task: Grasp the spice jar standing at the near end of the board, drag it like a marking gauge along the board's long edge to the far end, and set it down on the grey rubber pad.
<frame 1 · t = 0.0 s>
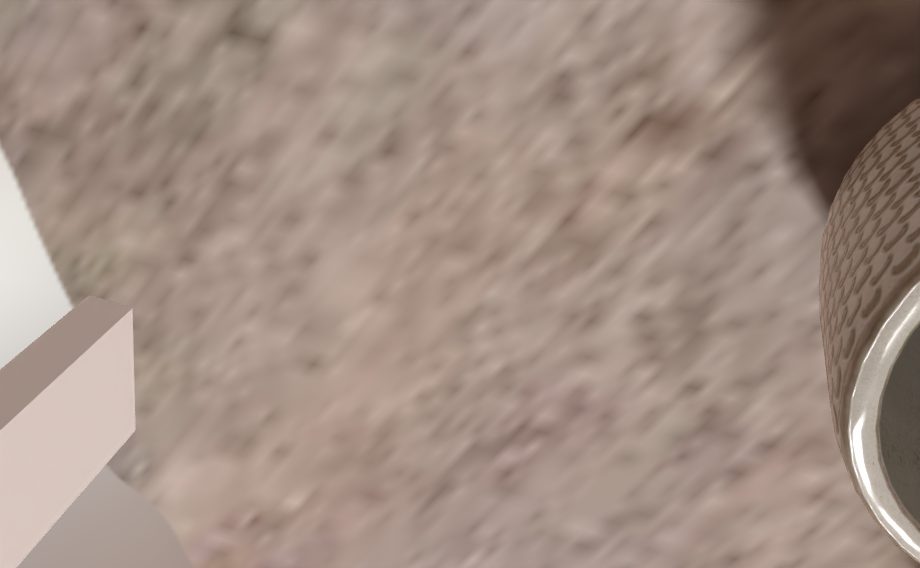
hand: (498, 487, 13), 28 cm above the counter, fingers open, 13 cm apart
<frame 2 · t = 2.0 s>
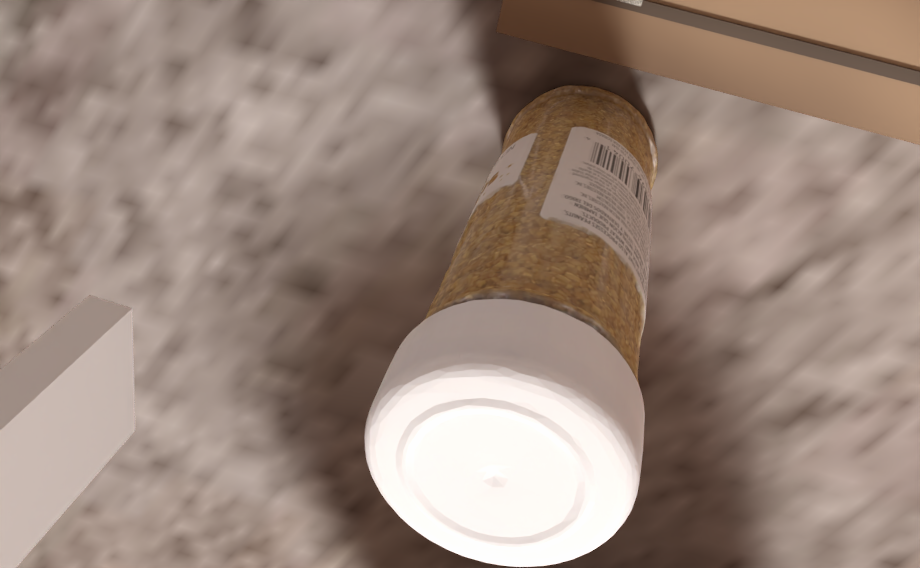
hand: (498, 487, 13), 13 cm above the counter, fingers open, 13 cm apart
spice jar: (582, 154, 24), on the counter
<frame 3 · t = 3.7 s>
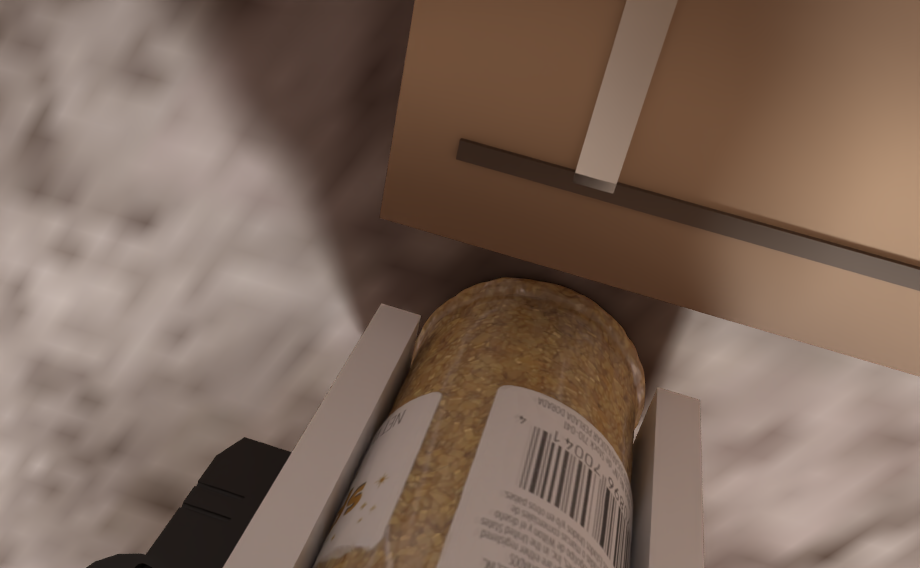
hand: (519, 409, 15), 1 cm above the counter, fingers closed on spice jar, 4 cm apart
spice jar: (532, 365, 16), on the counter, touching gripper
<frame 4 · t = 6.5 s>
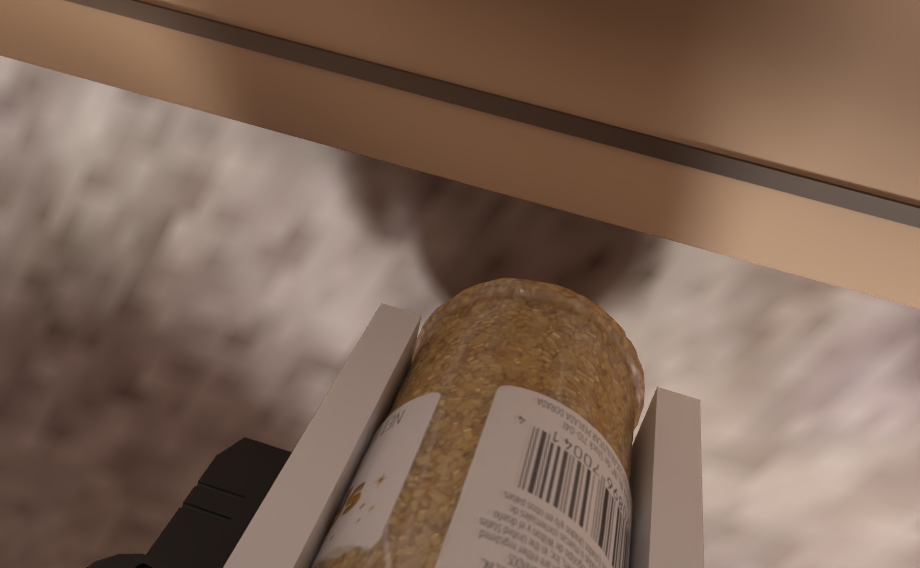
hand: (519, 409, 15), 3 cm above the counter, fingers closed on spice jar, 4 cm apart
spice jar: (532, 366, 16), point 1 cm above the counter, touching gripper
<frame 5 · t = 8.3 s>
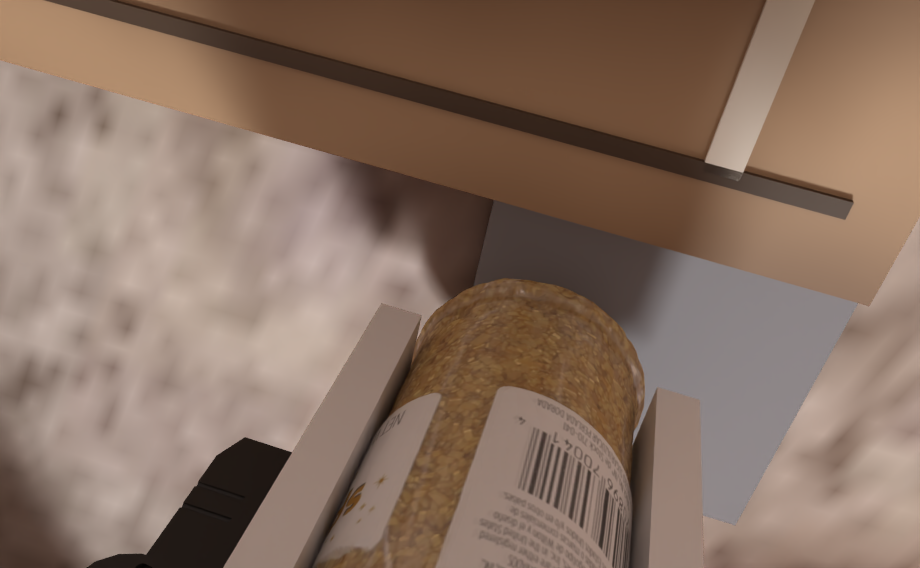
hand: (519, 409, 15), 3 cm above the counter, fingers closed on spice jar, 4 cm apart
end pad: (630, 351, 17), on the counter
spice jar: (532, 366, 16), point 1 cm above the counter, touching gripper
when the fingers open (2 cm above the counter, at t = 9.6 s): spice jar stays where it is, resting on end pad.
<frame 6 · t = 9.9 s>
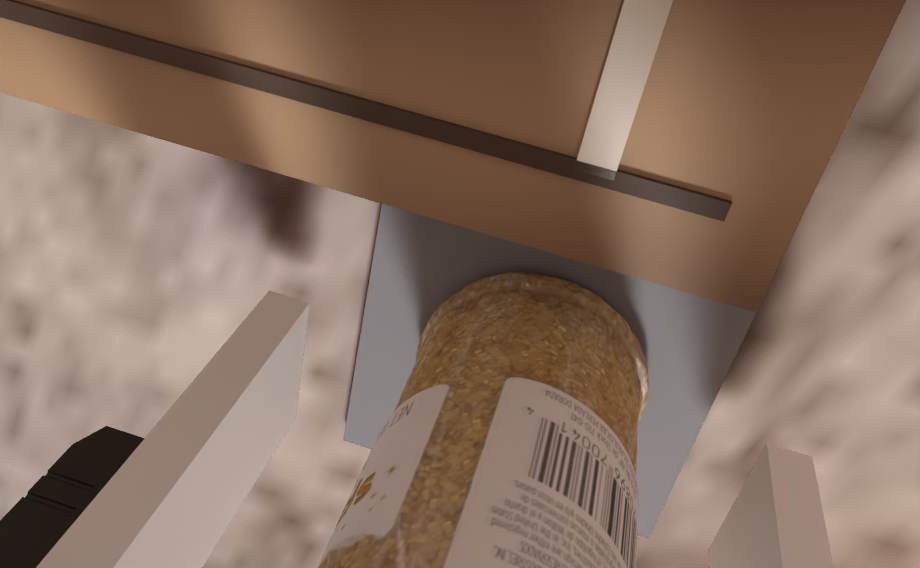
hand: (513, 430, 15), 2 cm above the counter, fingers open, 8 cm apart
end pad: (533, 357, 17), on the counter
spice jar: (536, 360, 16), resting on end pad
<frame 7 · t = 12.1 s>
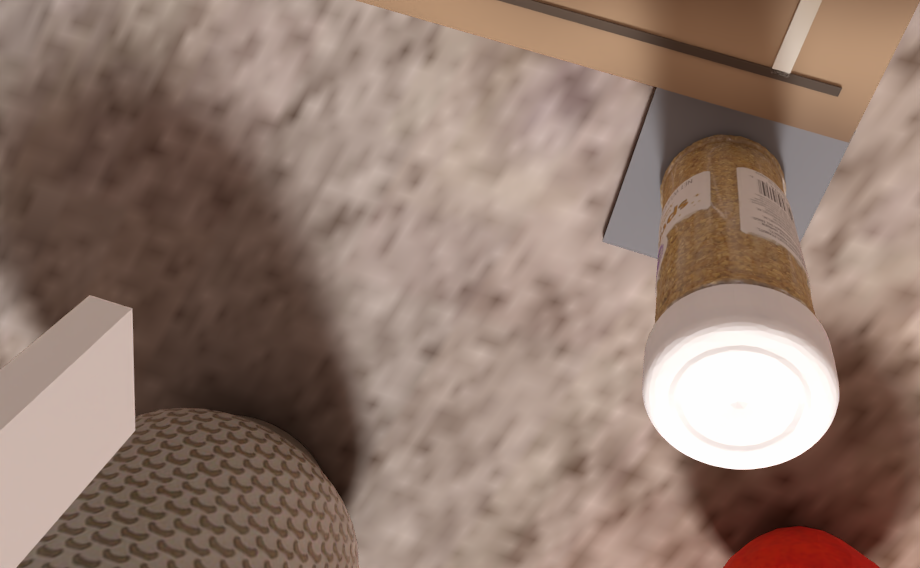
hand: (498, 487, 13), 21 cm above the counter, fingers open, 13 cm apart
end pad: (719, 187, 31), on the counter
planter: (257, 473, 45), on the counter
apple: (795, 556, 39), on the counter
spice jar: (722, 188, 31), resting on end pad
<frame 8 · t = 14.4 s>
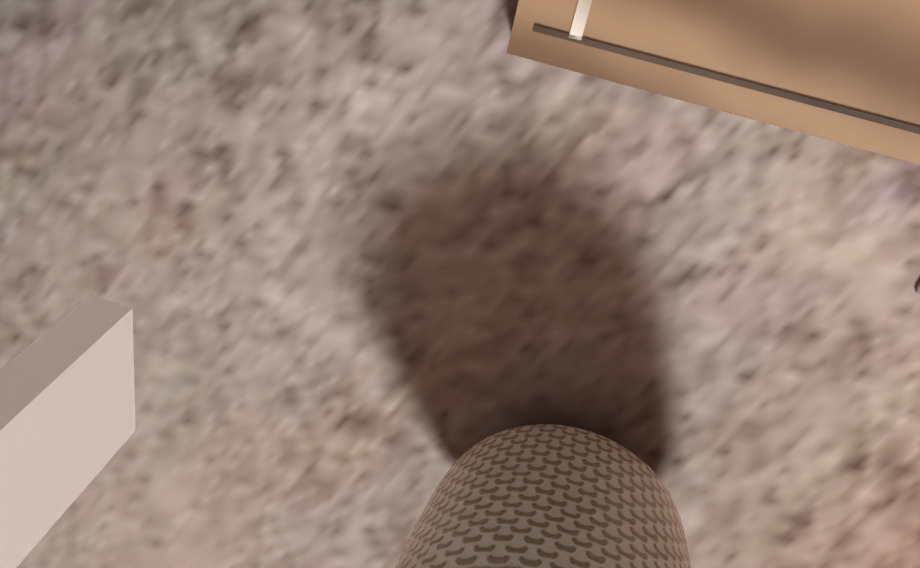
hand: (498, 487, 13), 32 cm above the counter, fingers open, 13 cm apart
board: (851, 30, 38), on the counter
planter: (565, 474, 55), on the counter
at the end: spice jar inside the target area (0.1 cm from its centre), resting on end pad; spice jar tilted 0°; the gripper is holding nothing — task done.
